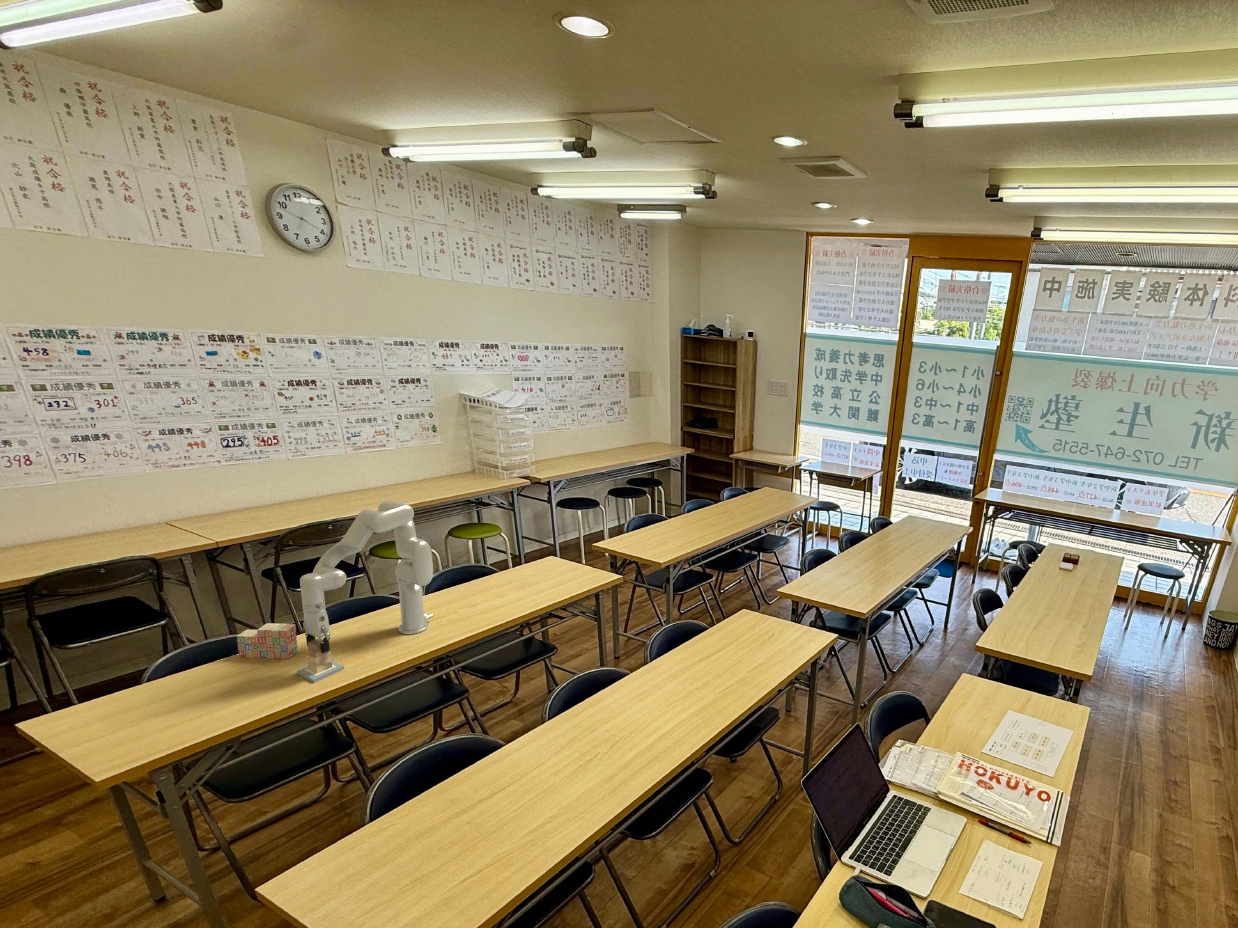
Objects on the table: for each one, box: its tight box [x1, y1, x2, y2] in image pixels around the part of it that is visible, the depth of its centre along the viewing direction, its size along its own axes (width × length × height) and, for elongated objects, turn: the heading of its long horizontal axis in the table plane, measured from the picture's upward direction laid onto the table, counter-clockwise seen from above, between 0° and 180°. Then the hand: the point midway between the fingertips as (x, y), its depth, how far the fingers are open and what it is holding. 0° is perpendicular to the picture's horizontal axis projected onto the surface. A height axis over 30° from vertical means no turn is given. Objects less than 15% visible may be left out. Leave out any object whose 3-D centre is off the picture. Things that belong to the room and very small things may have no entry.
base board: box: [296, 659, 345, 684], centre depth 223 cm, size 12×12×1 cm
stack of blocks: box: [236, 622, 299, 660], centre depth 236 cm, size 21×6×12 cm, turn 86°
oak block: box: [307, 651, 333, 674], centre depth 223 cm, size 6×6×6 cm
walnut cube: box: [307, 637, 330, 658], centre depth 222 cm, size 5×5×5 cm
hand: (318, 648), depth 222 cm, fingers open, 9 cm apart
